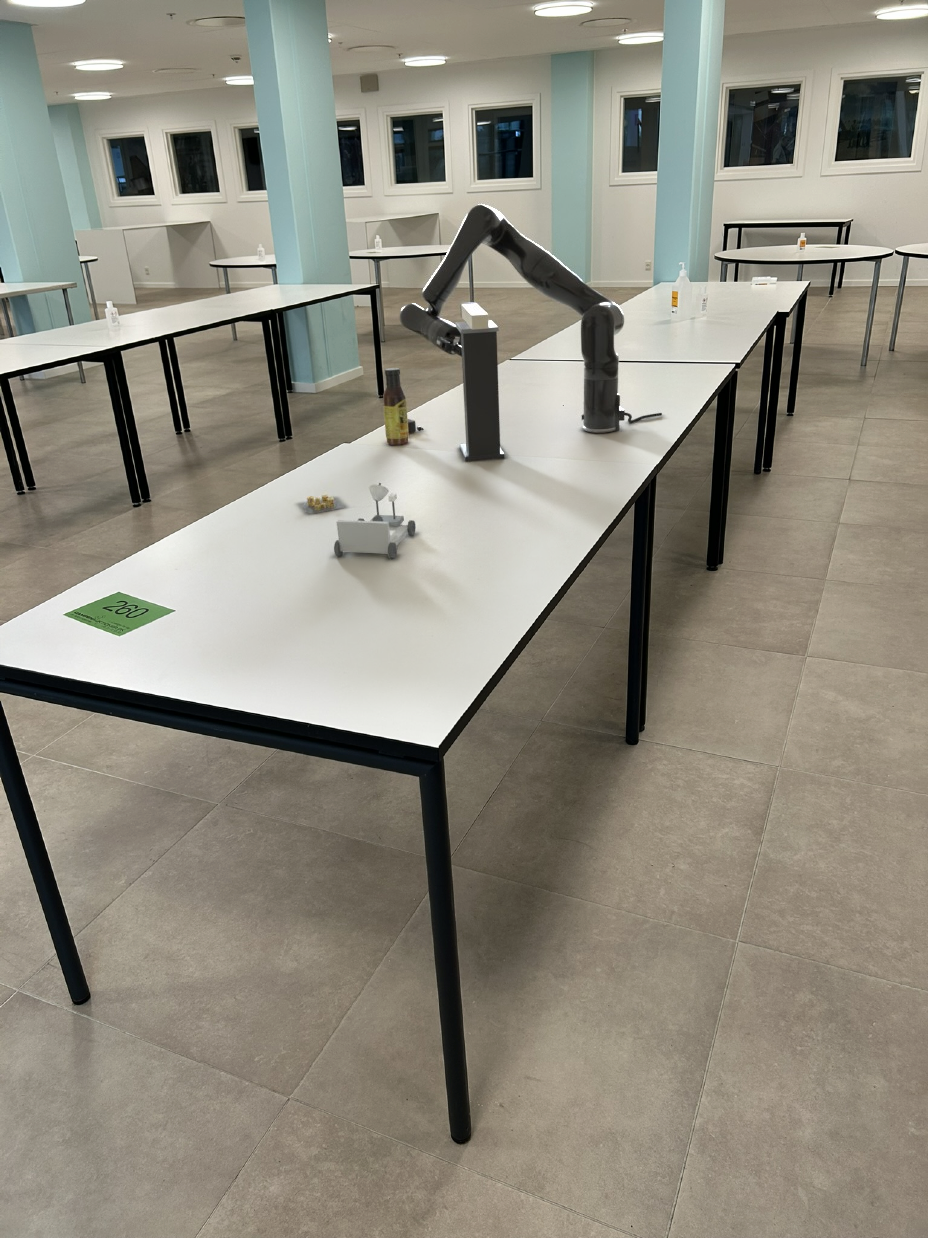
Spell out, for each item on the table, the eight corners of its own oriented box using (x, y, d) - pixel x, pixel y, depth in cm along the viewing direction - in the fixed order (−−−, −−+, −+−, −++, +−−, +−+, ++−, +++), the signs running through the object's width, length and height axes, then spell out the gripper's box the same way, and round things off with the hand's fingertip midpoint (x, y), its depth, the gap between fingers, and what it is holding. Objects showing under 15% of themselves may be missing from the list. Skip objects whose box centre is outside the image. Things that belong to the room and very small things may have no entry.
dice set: (307, 504, 201) (306, 496, 200) (329, 501, 202) (328, 492, 202) (313, 511, 197) (311, 502, 196) (335, 507, 198) (334, 498, 197)
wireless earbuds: (410, 434, 254) (409, 423, 252) (396, 430, 259) (395, 419, 257) (423, 431, 256) (423, 420, 255) (409, 427, 261) (408, 416, 260)
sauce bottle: (405, 446, 242) (400, 371, 234) (383, 445, 244) (377, 371, 235) (412, 439, 248) (406, 366, 240) (390, 439, 249) (384, 366, 241)
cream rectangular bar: (476, 315, 233) (476, 301, 232) (489, 328, 211) (488, 313, 210) (460, 316, 233) (460, 302, 231) (471, 329, 211) (471, 314, 210)
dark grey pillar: (497, 445, 238) (493, 319, 225) (504, 458, 227) (500, 326, 213) (459, 448, 238) (453, 322, 224) (465, 461, 226) (458, 329, 212)
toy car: (361, 479, 182) (416, 481, 179) (366, 525, 186) (419, 527, 184) (328, 508, 166) (388, 510, 164) (334, 557, 171) (392, 560, 168)
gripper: (426, 320, 239) (458, 337, 228) (471, 324, 247) (503, 341, 235) (421, 348, 242) (452, 367, 231) (465, 351, 250) (497, 369, 239)
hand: (478, 353), depth 233 cm, fingers open, 8 cm apart
